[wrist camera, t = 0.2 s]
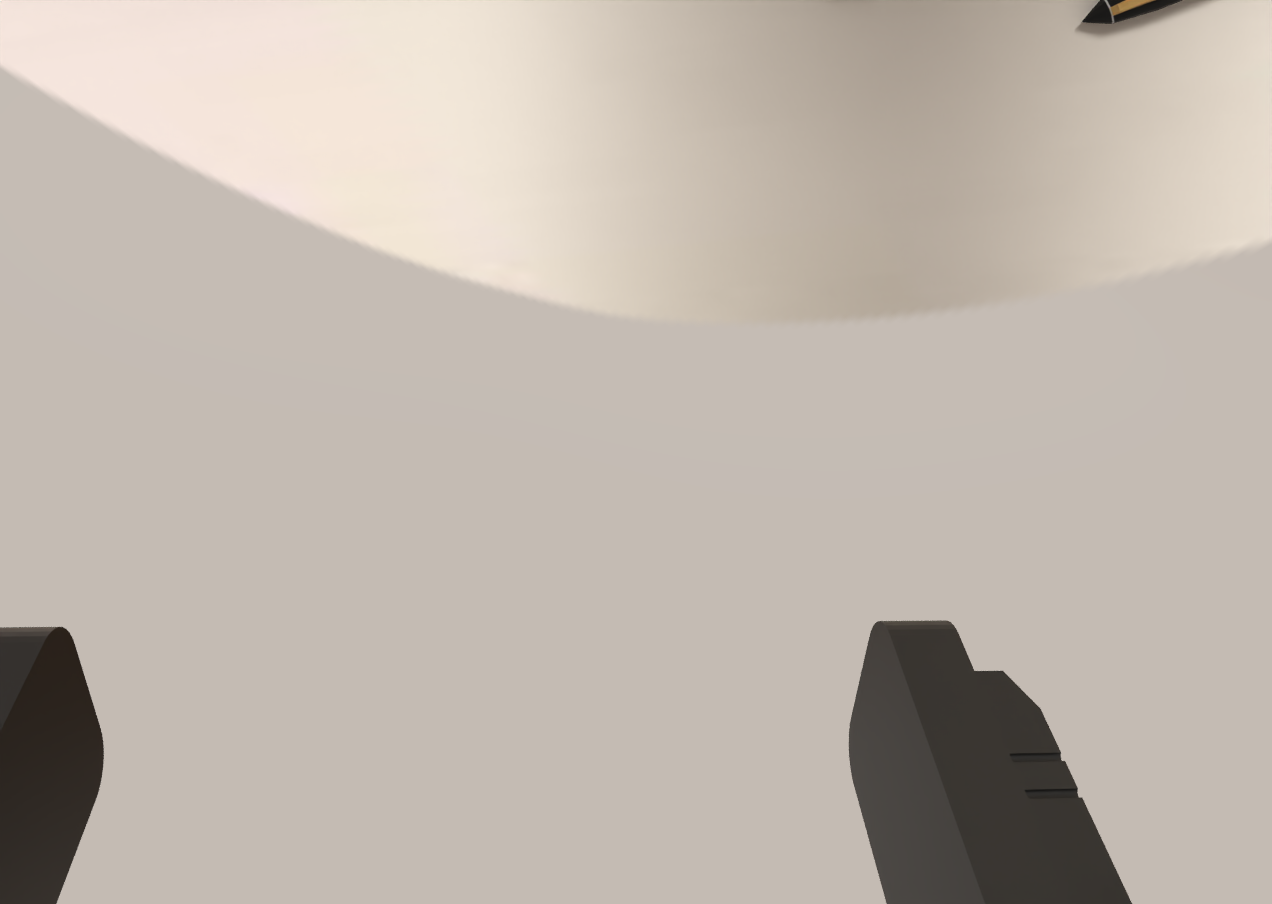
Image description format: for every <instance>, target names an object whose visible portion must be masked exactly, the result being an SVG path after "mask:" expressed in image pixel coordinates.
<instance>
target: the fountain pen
mask: <svg viewBox="0 0 1272 904" xmlns="http://www.w3.org/2000/svg"><path fill="white" fill-rule="evenodd" d="M1179 1H1182V0H1100V1H1099V2H1098V4H1097V5H1096V6H1095V7H1094V8H1093V9H1092V11H1091V12H1090V13H1089V14H1088V15H1087V16H1086V17H1085V19H1084V20H1083V21H1082V22H1086V23H1105V24H1113V23H1116V22H1119V21H1123V20H1126V19H1129V18H1133V17H1136V16H1139V15H1143V14H1146V13H1149V12H1153V11H1156V10H1159V9H1162V8H1164V7H1167V6H1169V5H1172V4H1174V3H1177V2H1179Z"/></svg>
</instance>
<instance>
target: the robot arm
mask: <svg viewBox="0 0 1272 904" xmlns="http://www.w3.org/2000/svg"><path fill="white" fill-rule="evenodd" d="M103 750H104V748H103V738H102V733H101V728H100V725H99V722H98V719H97V715H96V712H95V709H94V706H93V702H92V699H91V696H90V693H89V690H88V686H87V683H86V680H85V676H84V673H83V670H82V667H81V664H80V660H79V657H78V654H77V650H76V647H75V644H74V641H73V639H72V636H71V635H70V633H69V632H68V631H67V630H66V629H65V628H63V627H19V628H17V627H13V628H0V904H56V903H57V900H58V898H59V895H60V892H61V890H62V887H63V884H64V882H65V879H66V877H67V874H68V871H69V868H70V866H71V863H72V861H73V858H74V856H75V853H76V850H77V847H78V845H79V842H80V840H81V837H82V834H83V832H84V829H85V827H86V824H87V821H88V819H89V816H90V814H91V811H92V808H93V806H94V803H95V800H96V798H97V795H98V791H99V787H100V783H101V778H102V770H103V759H104V755H103V754H104V751H103ZM1060 754H1061V752H1060V750H1059V747H1058V745H1057V743H1056V741H1055V739H1054V737H1053V735H1052V732H1051V730H1050V728H1049V726H1048V724H1047V722H1046V720H1045V718H1044V715H1043V713H1042V711H1041V709H1040V708H1039V707H1038V706H1037V705H1036V704H1035V703H1034V702H1033V701H1032V700H1031V699H1030V698H1029V697H1028V696H1027V695H1026V694H1025V693H1024V692H1023V691H1022V690H1021V689H1020V688H1019V687H1018V686H1017V685H1016V684H1015V683H1014V682H1013V681H1012V680H1011V679H1010V678H1009V677H1008V676H1007V675H1006V674H1005V673H1004V672H1003V671H974V669H973V667H972V664H971V662H970V660H969V658H968V655H967V653H966V651H965V648H964V646H963V643H962V641H961V638H960V636H959V634H958V632H957V630H956V628H955V627H954V625H953V624H952V623H951V622H949V621H879V622H876V623H875V625H874V626H873V628H872V630H871V633H870V637H869V641H868V646H867V650H866V655H865V659H864V664H863V668H862V672H861V677H860V681H859V686H858V690H857V694H856V699H855V704H854V708H853V712H852V717H851V722H850V729H849V757H850V766H851V773H852V779H853V783H854V787H855V790H856V794H857V797H858V801H859V804H860V808H861V812H862V816H863V819H864V822H865V827H866V830H867V834H868V837H869V841H870V845H871V848H872V852H873V855H874V859H875V863H876V866H877V870H878V873H879V877H880V881H881V884H882V888H883V891H884V895H885V899H886V903H887V904H1132V903H1131V901H1130V899H1129V896H1128V894H1127V892H1126V890H1125V888H1124V886H1123V884H1122V882H1121V879H1120V877H1119V875H1118V873H1117V871H1116V869H1115V867H1114V865H1113V862H1112V860H1111V858H1110V856H1109V854H1108V852H1107V850H1106V848H1105V845H1104V843H1103V841H1102V839H1101V837H1100V835H1099V833H1098V830H1097V829H1096V826H1095V824H1094V822H1093V820H1092V818H1091V816H1090V814H1089V812H1088V810H1087V807H1086V805H1085V803H1084V801H1083V799H1082V798H1079V797H1078V794H1077V789H1078V788H1077V786H1076V784H1075V782H1074V779H1073V777H1072V775H1071V773H1070V771H1069V769H1068V767H1067V764H1066V762H1065V761H1062V760H1061V756H1060Z"/></svg>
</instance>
